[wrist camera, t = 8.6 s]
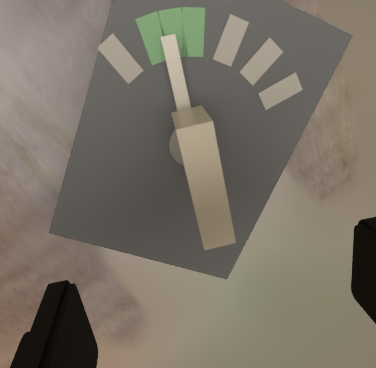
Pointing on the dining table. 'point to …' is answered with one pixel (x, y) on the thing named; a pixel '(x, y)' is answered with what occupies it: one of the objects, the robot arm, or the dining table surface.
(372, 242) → the robot arm
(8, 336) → the dining table surface
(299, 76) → the tuner board
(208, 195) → the beige block on stand
